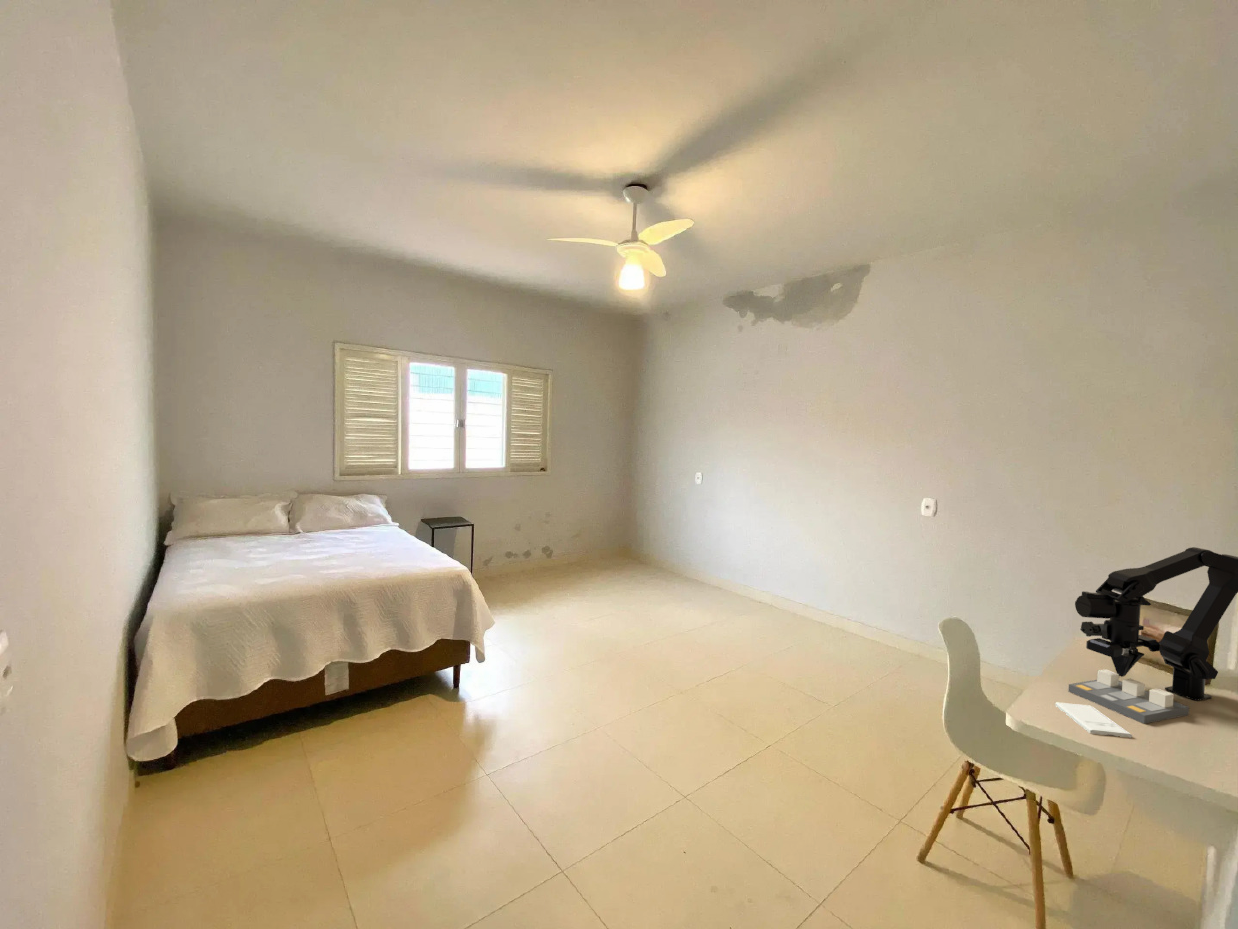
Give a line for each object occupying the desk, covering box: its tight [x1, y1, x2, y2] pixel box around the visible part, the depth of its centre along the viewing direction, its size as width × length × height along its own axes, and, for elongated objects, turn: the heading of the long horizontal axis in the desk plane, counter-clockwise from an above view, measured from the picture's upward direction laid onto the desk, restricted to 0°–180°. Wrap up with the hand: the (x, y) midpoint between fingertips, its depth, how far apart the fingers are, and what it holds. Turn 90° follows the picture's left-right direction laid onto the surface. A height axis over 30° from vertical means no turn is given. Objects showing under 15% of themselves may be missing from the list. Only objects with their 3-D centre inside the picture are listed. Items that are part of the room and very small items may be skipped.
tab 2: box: [1122, 678, 1146, 697], centre depth 131 cm, size 3×3×3 cm
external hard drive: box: [1054, 701, 1133, 739], centre depth 121 cm, size 2×8×12 cm
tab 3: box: [1149, 688, 1175, 708], centre depth 125 cm, size 3×3×3 cm
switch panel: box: [1068, 679, 1190, 724], centre depth 130 cm, size 16×16×2 cm
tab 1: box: [1096, 668, 1120, 686], centre depth 136 cm, size 3×3×3 cm
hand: (1120, 676), depth 137 cm, fingers closed
